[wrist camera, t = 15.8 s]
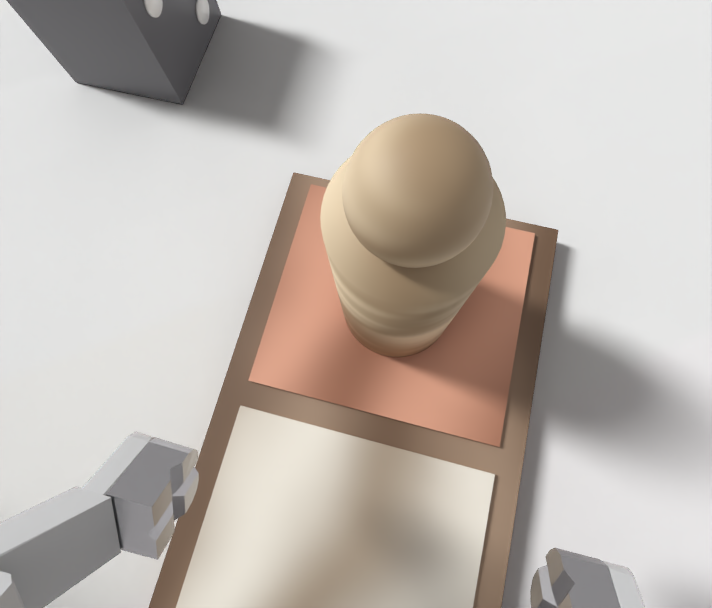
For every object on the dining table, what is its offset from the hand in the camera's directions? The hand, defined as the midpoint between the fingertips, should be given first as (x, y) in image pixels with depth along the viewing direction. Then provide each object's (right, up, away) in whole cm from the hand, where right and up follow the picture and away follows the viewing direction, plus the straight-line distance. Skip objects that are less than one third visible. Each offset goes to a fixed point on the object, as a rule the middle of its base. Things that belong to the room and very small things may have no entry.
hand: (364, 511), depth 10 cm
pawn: (+1, +5, +8) cm, 10 cm away
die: (-11, +18, +14) cm, 26 cm away
